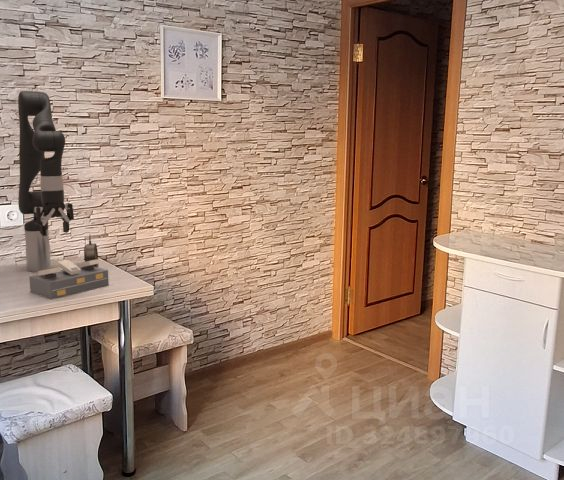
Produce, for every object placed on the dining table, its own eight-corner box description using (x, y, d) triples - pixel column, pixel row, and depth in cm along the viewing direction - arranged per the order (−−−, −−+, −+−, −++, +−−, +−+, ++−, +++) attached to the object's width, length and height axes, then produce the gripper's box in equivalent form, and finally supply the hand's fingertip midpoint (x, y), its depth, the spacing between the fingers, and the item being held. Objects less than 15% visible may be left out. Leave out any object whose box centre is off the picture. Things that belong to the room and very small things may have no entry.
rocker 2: (57, 265, 219) (57, 261, 219) (67, 263, 222) (67, 259, 222) (70, 275, 215) (71, 270, 214) (80, 273, 218) (80, 268, 217)
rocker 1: (38, 275, 213) (37, 270, 213) (48, 273, 216) (47, 268, 216) (51, 273, 208) (50, 268, 208) (61, 271, 211) (60, 266, 211)
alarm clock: (97, 274, 240) (95, 236, 237) (83, 275, 239) (81, 236, 236) (99, 268, 251) (97, 231, 248) (86, 269, 250) (84, 231, 246)
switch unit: (30, 292, 215) (29, 273, 213) (87, 279, 233) (86, 261, 232) (51, 299, 206) (50, 280, 205) (109, 285, 225) (108, 267, 223)
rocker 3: (77, 267, 226) (76, 263, 226) (86, 265, 229) (85, 261, 229) (90, 265, 220) (89, 260, 220) (99, 263, 223) (98, 258, 223)
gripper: (64, 186, 212) (66, 230, 216) (27, 189, 201) (30, 235, 204) (76, 187, 208) (78, 232, 211) (39, 191, 197) (42, 238, 200)
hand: (55, 234), depth 208 cm, fingers open, 8 cm apart
